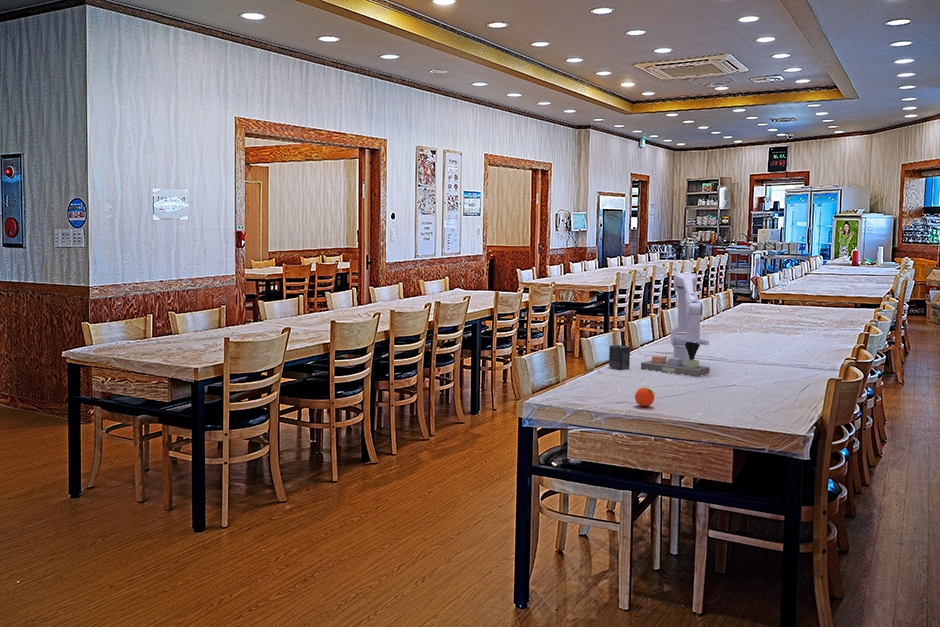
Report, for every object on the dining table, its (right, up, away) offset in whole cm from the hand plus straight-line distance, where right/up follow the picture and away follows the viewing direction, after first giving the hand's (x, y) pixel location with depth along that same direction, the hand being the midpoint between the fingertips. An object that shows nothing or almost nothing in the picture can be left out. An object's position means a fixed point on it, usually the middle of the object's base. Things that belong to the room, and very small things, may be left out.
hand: (691, 359), depth 372 cm
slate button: (-6, -4, +6) cm, 9 cm away
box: (-31, -5, +11) cm, 33 cm away
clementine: (-36, -13, -71) cm, 81 cm away
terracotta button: (-12, -3, +11) cm, 17 cm away
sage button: (0, -5, 0) cm, 5 cm away
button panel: (-6, -6, +6) cm, 10 cm away
